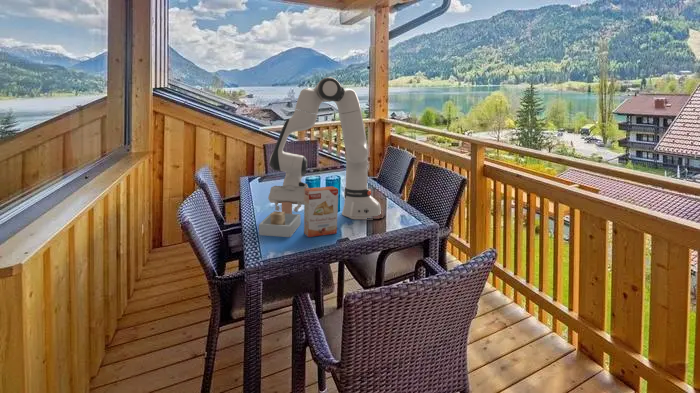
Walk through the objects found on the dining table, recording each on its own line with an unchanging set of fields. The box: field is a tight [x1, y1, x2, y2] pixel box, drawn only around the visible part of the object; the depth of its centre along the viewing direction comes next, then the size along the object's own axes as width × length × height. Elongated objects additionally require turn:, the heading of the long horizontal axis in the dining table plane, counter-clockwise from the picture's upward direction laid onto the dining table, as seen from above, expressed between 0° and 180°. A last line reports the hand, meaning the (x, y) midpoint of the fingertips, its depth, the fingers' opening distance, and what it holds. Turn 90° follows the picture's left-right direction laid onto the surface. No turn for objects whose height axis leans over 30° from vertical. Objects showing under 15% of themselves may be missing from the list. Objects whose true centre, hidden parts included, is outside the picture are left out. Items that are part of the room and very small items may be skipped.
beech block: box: [270, 210, 285, 225], centre depth 179 cm, size 5×5×8 cm
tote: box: [258, 212, 301, 238], centre depth 184 cm, size 14×18×5 cm
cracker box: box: [303, 186, 339, 238], centre depth 178 cm, size 14×6×21 cm, turn 117°
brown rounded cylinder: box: [281, 201, 293, 214], centre depth 197 cm, size 5×5×9 cm
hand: (286, 210), depth 196 cm, fingers open, 8 cm apart
